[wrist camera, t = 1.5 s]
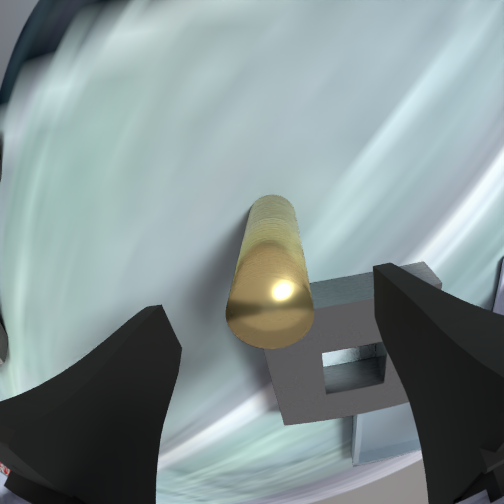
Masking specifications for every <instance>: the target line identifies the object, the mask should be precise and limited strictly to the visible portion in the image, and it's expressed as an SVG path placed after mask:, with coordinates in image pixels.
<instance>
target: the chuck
mask: <svg viewBox="0 0 504 504" xmlns="http://www.w3.org/2000/svg"><path fill="white" fill-rule="evenodd" d="M400 268H402V269H404V270H406V271H407V272H409V273H411V274H413V275H415V276H416V277H418V278H420V279H422V280H423V281H425V282H427V283H429V284H431V285H433V286H434V287H436V288H438V289H440V290H441V288H442V282H441V281H440V280H439V278H438V277H437V276H436V275H435V274H434V273H433V271H432V270H431V269H430V268H429V267H428V266H427V264H426V263H425V262H419V263H415V264H410V265H405V266H400ZM309 285H310V290H311V295H312V301H313V307H314V320H313V324H312V326H311V328H310V329H309V331H308V332H307V334H306V335H305V336H304V337H303V338H302V339H300V340H299V341H297V342H296V343H294V344H292V345H289V346H286V347H283V348H278V349H263V350H264V354H265V358H266V361H267V365H268V368H269V372H270V376H271V379H272V383H273V386H274V390H275V394H276V397H277V401H278V404H279V408H280V411H281V415H282V418H283V422H284V425H293V424H302V423H310V422H317V421H324V420H330V419H336V418H342V417H347V416H353V415H358V414H363V413H367V412H372V411H376V410H381V409H385V408H389V407H393V406H397V405H401V404H405V403H408V402H409V400H408V397H407V395H406V392H405V389H404V387H403V385H402V383H401V380H400V378H399V376H398V374H397V372H396V369H395V367H394V365H393V363H392V361H391V359H390V356H389V354H388V352H387V350H386V348H385V346H384V343H383V341H382V338H381V335H380V332H379V329H378V326H377V323H376V320H375V317H374V279H373V272H369V273H364V274H359V275H353V276H348V277H343V278H337V279H331V280H326V281H320V282H314V283H309ZM372 343H376V357H374V358H370V359H365V360H360V361H355V362H350V363H345V364H339V365H334V366H328V367H323V361H322V353H325V352H331V351H337V350H342V349H348V348H353V347H358V346H363V345H368V344H372Z"/></svg>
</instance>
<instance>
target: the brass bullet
mask: <svg viewBox="0 0 504 504" xmlns="http://www.w3.org/2000/svg"><path fill="white" fill-rule="evenodd" d="M226 319H227V323H228V325H229V327H230V329H231V331H232V332H233V333H234V334H235V335H236V336H237V337H238V338H239V339H240V340H242V341H243V342H245V343H247V344H249V345H251V346H254V347H258V348H263V349H278V348H283V347H286V346H289V345H292V344H294V343H296V342H297V341H299V340H300V339H302V338H303V337H304V336H305V335H306V334H307V332H308V331H309V329H310V328H311V326H312V324H313V320H314V307H313V301H312V295H311V290H310V285H309V279H308V274H307V269H306V264H305V259H304V253H303V248H302V244H301V239H300V234H299V229H298V224H297V220H296V215H295V211H294V208H293V206H292V205H291V203H290V202H289V201H288V200H287V199H285V198H283V197H281V196H278V195H266V196H263V197H261V198H259V199H258V200H257V201H256V202H255V203H254V204H253V206H252V207H251V210H250V214H249V218H248V222H247V226H246V230H245V234H244V238H243V242H242V246H241V250H240V254H239V258H238V262H237V266H236V270H235V274H234V278H233V282H232V286H231V290H230V294H229V298H228V303H227V307H226Z"/></svg>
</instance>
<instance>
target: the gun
mask: <svg viewBox="0 0 504 504" xmlns="http://www.w3.org/2000/svg"><path fill="white" fill-rule="evenodd" d="M0 181H1V162H0ZM7 344H8V336H7V334H6V332H5V331H4V329H3V327H2V325H1V323H0V364H2V363H4V361H5V358H6V352H7Z"/></svg>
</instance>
